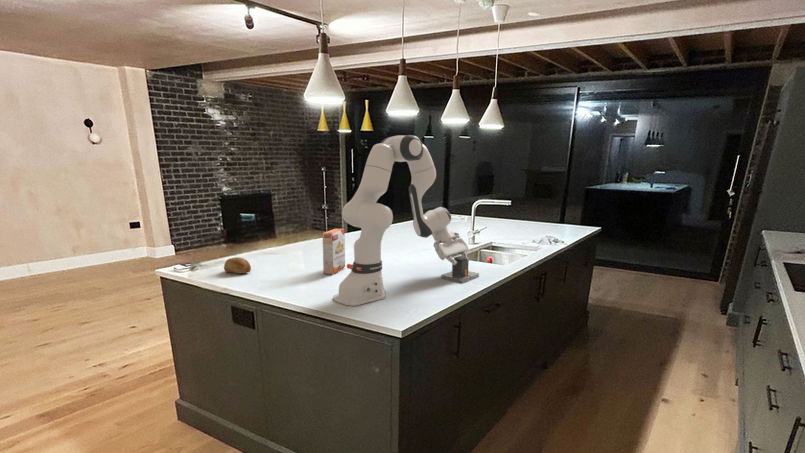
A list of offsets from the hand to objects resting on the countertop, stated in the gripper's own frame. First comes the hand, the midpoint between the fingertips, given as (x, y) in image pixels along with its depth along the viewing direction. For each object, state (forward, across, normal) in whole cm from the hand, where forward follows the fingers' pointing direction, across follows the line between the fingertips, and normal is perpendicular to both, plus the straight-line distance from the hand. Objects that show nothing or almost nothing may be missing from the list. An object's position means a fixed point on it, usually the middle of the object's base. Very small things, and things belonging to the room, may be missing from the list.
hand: (461, 262), depth 188 cm
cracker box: (-33, -33, +44) cm, 64 cm away
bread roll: (-58, -68, +69) cm, 112 cm away
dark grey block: (+4, 0, +5) cm, 6 cm away
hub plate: (+5, 0, +6) cm, 7 cm away
